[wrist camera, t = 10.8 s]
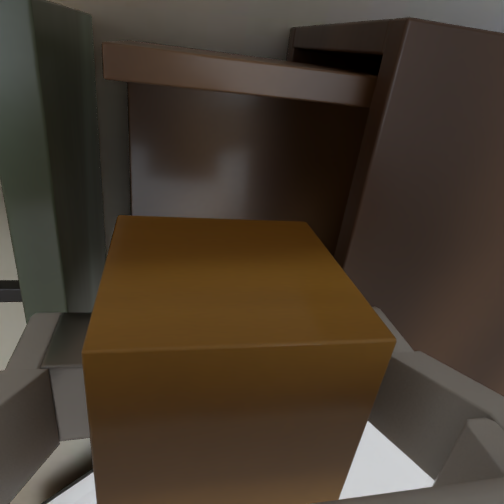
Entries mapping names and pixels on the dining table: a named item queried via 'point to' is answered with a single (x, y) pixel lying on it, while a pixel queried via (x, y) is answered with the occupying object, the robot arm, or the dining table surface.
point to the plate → (356, 485)
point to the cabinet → (426, 183)
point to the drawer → (159, 144)
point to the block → (227, 364)
